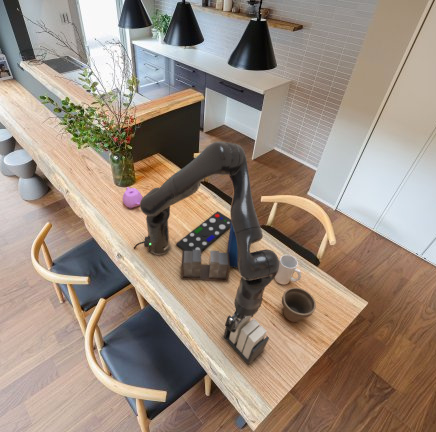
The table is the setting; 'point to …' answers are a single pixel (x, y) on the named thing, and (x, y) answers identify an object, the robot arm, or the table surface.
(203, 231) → the remote control
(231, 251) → the book
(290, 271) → the mug
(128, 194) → the teapot
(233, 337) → the white book
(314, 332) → the table surface
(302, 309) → the flower pot
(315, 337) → the table surface
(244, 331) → the dark book holder
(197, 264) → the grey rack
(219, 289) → the table surface
